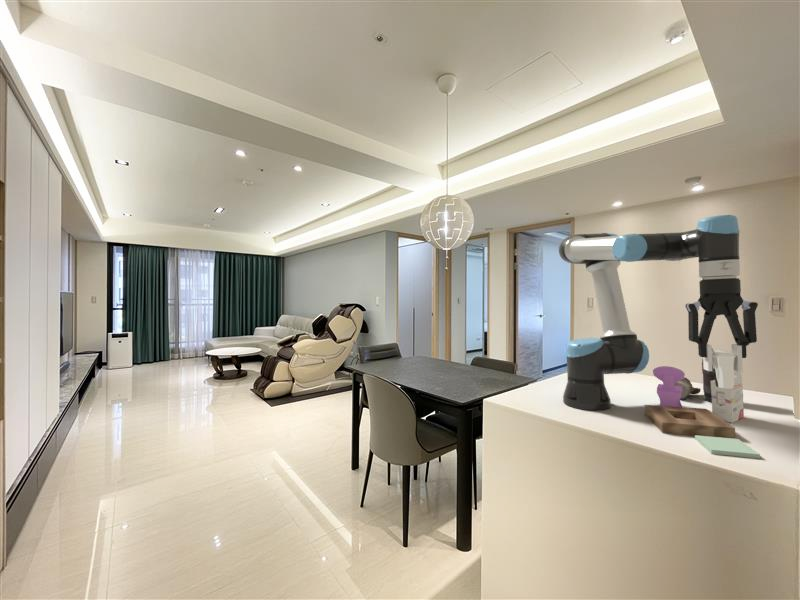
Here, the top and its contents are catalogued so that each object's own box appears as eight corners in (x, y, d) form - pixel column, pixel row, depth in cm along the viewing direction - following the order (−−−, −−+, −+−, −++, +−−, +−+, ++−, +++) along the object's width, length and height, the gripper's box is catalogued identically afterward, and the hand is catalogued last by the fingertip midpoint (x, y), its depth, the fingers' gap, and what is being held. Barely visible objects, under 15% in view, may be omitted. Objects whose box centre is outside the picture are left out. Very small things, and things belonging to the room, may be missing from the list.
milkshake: (704, 385, 87) (702, 347, 87) (723, 384, 88) (721, 345, 88) (722, 390, 83) (720, 349, 83) (742, 388, 83) (740, 348, 83)
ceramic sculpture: (655, 373, 128) (667, 369, 137) (655, 396, 127) (667, 391, 137) (692, 378, 119) (702, 373, 129) (692, 403, 119) (702, 396, 128)
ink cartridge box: (723, 413, 109) (721, 367, 109) (744, 417, 105) (742, 370, 104) (711, 418, 105) (709, 371, 105) (732, 423, 101) (730, 373, 101)
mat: (711, 453, 83) (711, 449, 83) (695, 438, 91) (694, 435, 91) (760, 458, 80) (759, 454, 80) (738, 442, 88) (738, 439, 88)
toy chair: (687, 408, 115) (685, 364, 115) (685, 415, 108) (684, 368, 108) (656, 403, 120) (654, 361, 120) (653, 410, 114) (651, 366, 114)
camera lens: (721, 398, 123) (719, 357, 123) (741, 405, 115) (739, 361, 115) (697, 398, 124) (695, 357, 124) (715, 405, 116) (713, 361, 116)
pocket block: (662, 432, 96) (662, 422, 96) (644, 413, 111) (644, 404, 111) (735, 439, 90) (734, 427, 90) (706, 418, 105) (706, 408, 105)
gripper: (680, 279, 85) (684, 372, 85) (777, 275, 79) (780, 375, 79) (669, 280, 92) (672, 366, 92) (757, 276, 86) (760, 368, 86)
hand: (722, 370), depth 85 cm, fingers closed on milkshake, 5 cm apart
